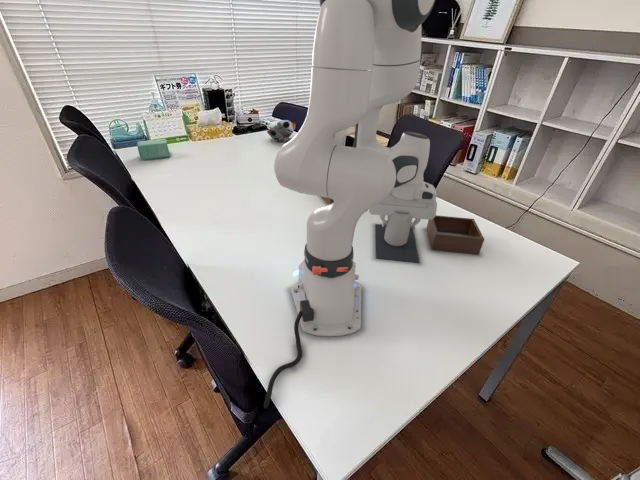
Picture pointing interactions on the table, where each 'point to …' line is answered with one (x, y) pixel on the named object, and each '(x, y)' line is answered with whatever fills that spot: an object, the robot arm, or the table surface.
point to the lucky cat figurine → (282, 130)
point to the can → (397, 229)
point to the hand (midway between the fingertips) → (398, 227)
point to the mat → (395, 247)
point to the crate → (454, 242)
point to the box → (153, 149)
